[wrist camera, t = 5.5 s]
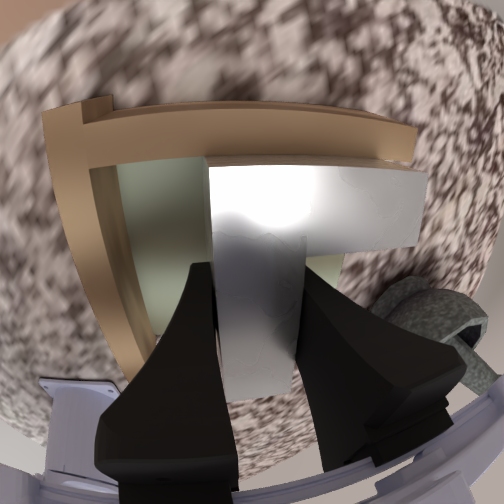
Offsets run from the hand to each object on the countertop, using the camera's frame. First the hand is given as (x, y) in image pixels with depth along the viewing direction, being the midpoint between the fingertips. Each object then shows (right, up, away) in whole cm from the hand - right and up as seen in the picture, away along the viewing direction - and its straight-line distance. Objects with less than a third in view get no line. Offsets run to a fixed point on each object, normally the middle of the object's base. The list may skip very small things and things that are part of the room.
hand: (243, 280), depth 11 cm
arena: (-1, +2, +4) cm, 5 cm away
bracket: (+1, +1, +2) cm, 3 cm away
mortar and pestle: (+13, -3, +12) cm, 18 cm away
